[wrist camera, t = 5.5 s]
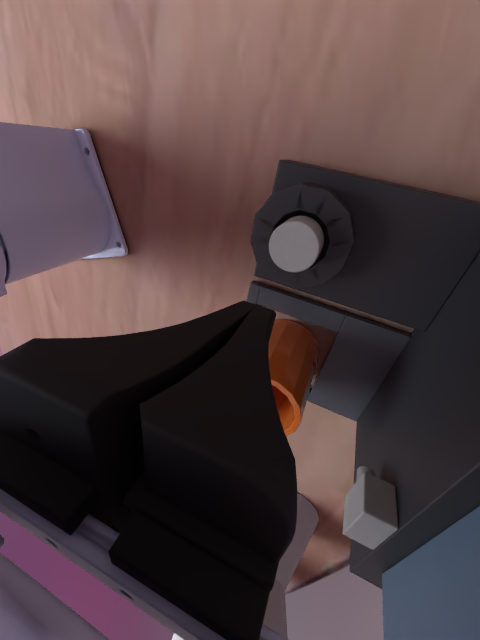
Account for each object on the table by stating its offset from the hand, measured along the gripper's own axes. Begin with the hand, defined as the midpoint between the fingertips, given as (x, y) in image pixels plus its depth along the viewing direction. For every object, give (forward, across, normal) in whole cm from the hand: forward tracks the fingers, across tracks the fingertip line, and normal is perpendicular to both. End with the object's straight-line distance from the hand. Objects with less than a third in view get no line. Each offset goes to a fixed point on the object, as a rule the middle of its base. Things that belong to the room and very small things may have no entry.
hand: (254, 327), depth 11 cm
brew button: (+7, 0, -2) cm, 7 cm away
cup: (+10, -1, +8) cm, 13 cm away
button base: (+10, -3, -2) cm, 11 cm away
